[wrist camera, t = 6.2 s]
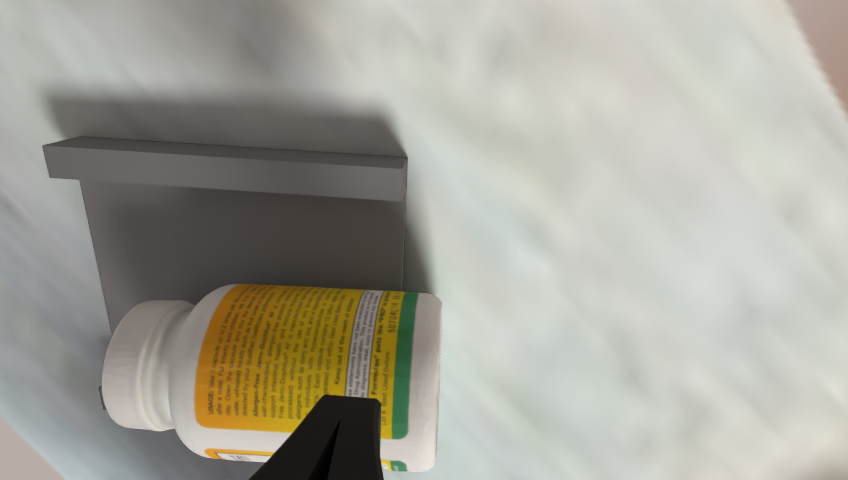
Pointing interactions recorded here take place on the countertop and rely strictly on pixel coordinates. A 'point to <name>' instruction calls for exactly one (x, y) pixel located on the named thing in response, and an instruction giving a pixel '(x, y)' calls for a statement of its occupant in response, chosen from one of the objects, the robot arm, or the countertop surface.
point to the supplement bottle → (278, 367)
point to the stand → (233, 218)
